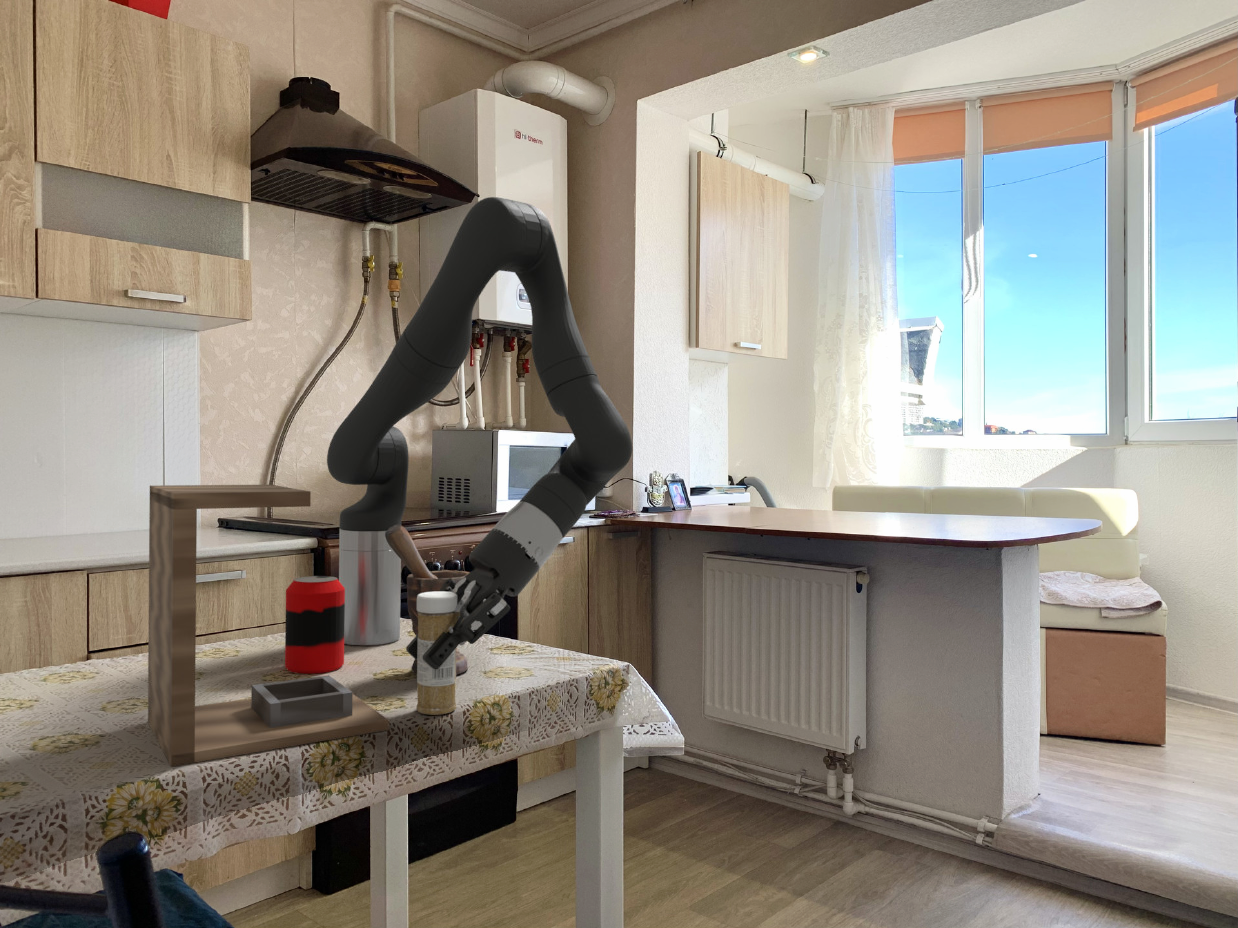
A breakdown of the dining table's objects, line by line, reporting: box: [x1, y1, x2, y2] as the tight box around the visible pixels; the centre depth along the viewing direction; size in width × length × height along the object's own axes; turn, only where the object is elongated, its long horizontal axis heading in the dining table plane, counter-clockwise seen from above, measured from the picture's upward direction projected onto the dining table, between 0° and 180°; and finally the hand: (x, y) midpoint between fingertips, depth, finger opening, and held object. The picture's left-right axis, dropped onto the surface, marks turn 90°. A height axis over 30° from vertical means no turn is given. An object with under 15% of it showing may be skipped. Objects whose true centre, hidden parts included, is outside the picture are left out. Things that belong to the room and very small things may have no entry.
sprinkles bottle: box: [415, 591, 457, 716], centre depth 103 cm, size 5×5×14 cm
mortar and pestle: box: [385, 524, 471, 676], centre depth 120 cm, size 12×9×20 cm
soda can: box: [284, 575, 345, 675], centre depth 122 cm, size 8×8×12 cm
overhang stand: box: [147, 484, 390, 767], centre depth 96 cm, size 16×21×26 cm
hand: (420, 659), depth 102 cm, fingers closed on sprinkles bottle, 4 cm apart
